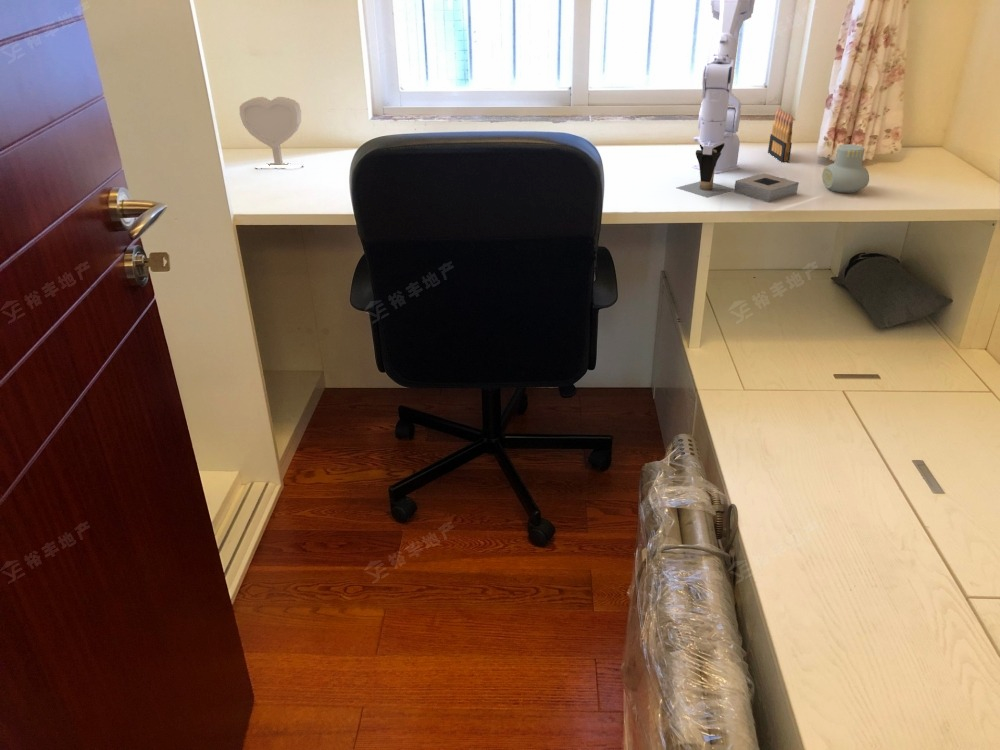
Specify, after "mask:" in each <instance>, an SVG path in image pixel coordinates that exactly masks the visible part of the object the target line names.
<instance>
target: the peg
mask: <svg viewBox="0 0 1000 750" xmlns="http://www.w3.org/2000/svg"><path fill="white" fill-rule="evenodd" d="M713 151H714V152H715V153H717V151H716V150H714V149H713ZM714 170H715V167H714ZM714 178H715V174H714V171H713V175H712V178H711V181H710V182H701V178H700V180H699V181H700V189H701V190H712V188H713V183H714Z"/></svg>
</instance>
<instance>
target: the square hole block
mask: <svg viewBox="0 0 1000 750" xmlns="http://www.w3.org/2000/svg"><path fill="white" fill-rule="evenodd" d="M798 187H799V182H798V181H794V180H791V179H787V178H783V177H779V176H777V175H776V176H775V175H772V174H768V173H765V172H763V173H759V174H756V175H752V176H749V177H748V176H747V177H743V178H739V179H737V180H735V181H734V188H733V189H734V190H733V192H734V194H738V195H743V196H745V197H748V198H749V197H750V198H753V199H756V200H760V201H762V202H766V203H772V202H775V201H779V200H781V199H785V198H788V197H791V196H794V195H798V194H797V193H798V189H799V188H798Z"/></svg>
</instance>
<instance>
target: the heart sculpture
mask: <svg viewBox="0 0 1000 750" xmlns="http://www.w3.org/2000/svg"><path fill="white" fill-rule="evenodd" d="M239 117H240V120H241V123H242V126H243V127H244V129H246V130H247V132H248V133H249V134H250V135H251V136H252V137H254V138H255V139H256V140H258V141H259V142H261V143H262V144H264V145H266V146H267V147H270V148H271V149H272V151H271V152H272V155H273V157H272V158H273V161H274V162H271V163H270V164H269V163H267V164H268V165H269V166H270V165H288V164H289V162H283V156H282V150H281V145H282V144H283V143H285V142H286V141H288V140H289V139H290V138H291V137H292V136H293V135H294V134H295V133H296V132H298V130H299V127H300V125H301V123H302V109H301V105H300V104H299V102H298V101H296V99H292V98H290V97H284V96H277V97H275V98H272V99H271V100H270V99H268V98H267V97H264V96H257V97H254V98H250V99H248V100H246V101H244V102H242V103H241V105H240V106H239ZM285 163H287V164H285Z"/></svg>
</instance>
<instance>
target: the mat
mask: <svg viewBox="0 0 1000 750" xmlns="http://www.w3.org/2000/svg"><path fill="white" fill-rule="evenodd" d="M675 188H676V189H678V190H681V191H684V192H688V193H691V194H694V195H697V196H701V197H704V198H711V197H715V196H718V195H722V194H726V193H729V192H734V188H733V187H731V186H726V185H724V184H723V185H722V184H719V183H715V182H713V188H712V190H701V189H700V180H699V181H695V182H692V183H688V184H685V185H681V186H678V187H675Z"/></svg>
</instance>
